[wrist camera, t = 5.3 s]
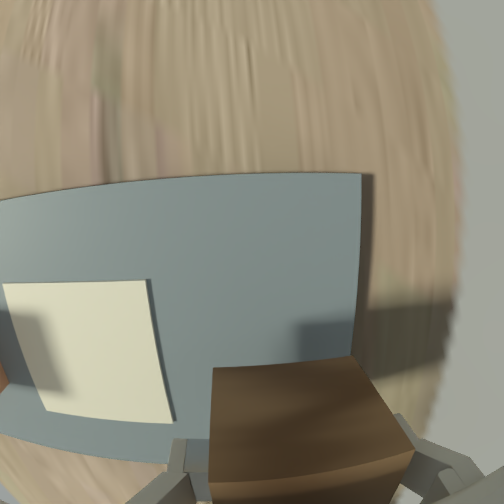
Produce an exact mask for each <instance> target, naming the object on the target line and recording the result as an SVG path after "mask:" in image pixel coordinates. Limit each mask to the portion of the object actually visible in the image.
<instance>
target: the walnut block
mask: <svg viewBox="0 0 504 504" xmlns="http://www.w3.org/2000/svg"><path fill="white" fill-rule="evenodd" d="M415 450H416V449H415V447H414V446H413V444H412V443H411V441H410V440H409V438H408V436H407V435H406V433H405V432H404V430H403V429H402V427H401V426H400V424H399V423H398V421H397V420H396V418H395V417H394V415H393V414H392V412H391V411H390V409H389V408H388V406H387V405H386V403H385V402H384V400H383V399H382V398H381V396H380V395H379V393H378V392H377V390H376V389H375V387H374V386H373V384H372V383H371V381H370V380H369V378H368V377H367V375H366V374H365V372H364V371H363V370H362V368H361V367H360V365H359V364H358V362H357V361H356V359H355V358H354V356H353V355H352V356H345V357H338V358H330V359H322V360H313V361H303V362H293V363H282V364H270V365H256V366H238V367H213V373H212V392H211V413H210V436H209V464H208V485H209V489H210V494H211V498H212V502H213V504H389V503H390V501H391V499H392V497H393V495H394V493H395V491H396V490H397V488H398V486H399V484H400V482H401V480H402V478H403V476H404V474H405V472H406V469H407V467H408V465H409V463H410V461H411V459H412V456H413V454H414V452H415Z"/></svg>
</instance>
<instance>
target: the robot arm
mask: <svg viewBox="0 0 504 504" xmlns="http://www.w3.org/2000/svg"><path fill="white" fill-rule="evenodd" d="M394 417H395V418H396V420H397V421H398V423H399V424H400V426H401V427H402V429H403V430H404V432H405V433H406V435H407V436H408V438H409V440H410V441H411V443H412V444H413V446H414V447H415V449H416V450H415V452H414V454H413V456H412V459H411V461H410V463H409V465H408V467H407V469H406V472H405V474H404V476H403V478H402V480H401V482H400V483H401V484H402V485H404V486H405V487H407V488H409V489H410V490H412V491H413V492H415V493H417V494H418V495H420V496H421V497H423V500H422V501H421V503H420V504H504V466H503V467H501V468H499V469H498V470H496V471H494V472H492V473H491V474H489V475H487V476H486V477H485V476H484V475H483V473H482V472H481V471H480V470H479V468H478V467H477V466H476V464H475V463H474V462H473V461H472V459H471V458H470V457H468V456H465V455H462V454H460V453H457V452H454V451H452V450H449V449H447V448H444V447H442V446H439V445H437V444H435V443H432V442H430V441H427V440H425V439H423V438H421V439H418V437H417V436H416V434H415V433H414V432H413V430H412V429H411V427H410V426H409V425H408V423H407V422H406V420H405V419H404V418H403V416H402V415H401V414H399V413H397V414H394ZM208 464H209V439H189V438H188V439H183V438H173V440H172V443H171V449H170V455H169V461H168V467H167V472H162V473H161V474H159V475H158V476H157V477H156V478H155V479H154V480H153V481H151V482H150V483H149V484H148V485H147V486H146V487H144V488H143V489H142V490H141V491H140V492H139V493H137V494H136V495H135V496H134V497H132V498H131V499H130V500H129V501H128V502H126V503H125V504H196V503H197V502H196V501H212V498H211V494H210V489H209V485H208ZM0 504H8V503H6V502H4V501H1V500H0Z"/></svg>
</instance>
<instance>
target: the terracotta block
mask: <svg viewBox="0 0 504 504" xmlns="http://www.w3.org/2000/svg"><path fill="white" fill-rule="evenodd" d="M8 384H9V381H8V379H7V376H6V374H5V372H4V369H3V367H2V364H1V362H0V394H1V393H2V391H3V390H4V389H5V388H6V387H7V385H8Z"/></svg>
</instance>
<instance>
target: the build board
mask: <svg viewBox="0 0 504 504" xmlns="http://www.w3.org/2000/svg"><path fill="white" fill-rule="evenodd" d="M360 234H361V174H355V173H260V174H232V175H211V176H195V177H180V178H167V179H155V180H144V181H133V182H124V183H115V184H106V185H98V186H90V187H82V188H74V189H67V190H60V191H54V192H47V193H41V194H35V195H29V196H23V197H18V198H12V199H7V200H2V201H0V362H1V364H2V367H3V369H4V372H5V374H6V376H7V379H8V381H9V384H8V385H7V387H6V388H5V389H4V390H3V391H2V393H1V394H0V433H1V434H4V435H8V436H11V437H14V438H17V439H21V440H24V441H27V442H31V443H35V444H39V445H42V446H47V447H51V448H55V449H59V450H64V451H69V452H74V453H79V454H84V455H90V456H96V457H102V458H109V459H117V460H125V461H135V462H146V463H159V464H168V461H169V455H170V449H171V443H172V440H173V438H183V439H188V438H189V439H209V436H210V413H211V392H212V373H213V367H238V366H256V365H270V364H282V363H293V362H303V361H313V360H322V359H330V358H338V357H345V356H350V354H351V346H352V338H353V329H354V319H355V309H356V298H357V286H358V272H359V256H360Z"/></svg>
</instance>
